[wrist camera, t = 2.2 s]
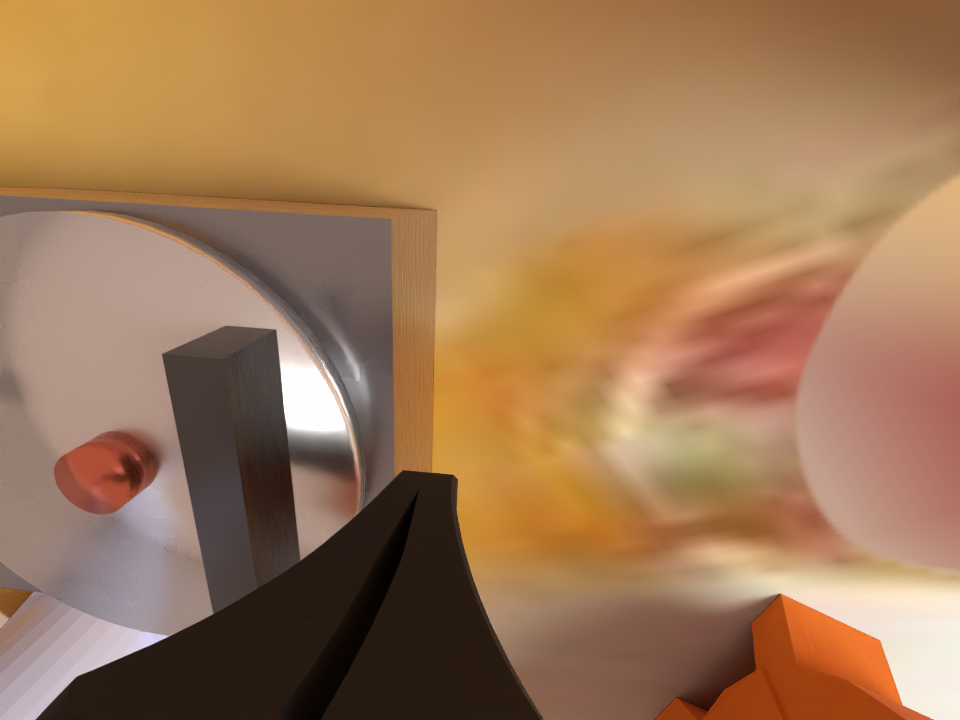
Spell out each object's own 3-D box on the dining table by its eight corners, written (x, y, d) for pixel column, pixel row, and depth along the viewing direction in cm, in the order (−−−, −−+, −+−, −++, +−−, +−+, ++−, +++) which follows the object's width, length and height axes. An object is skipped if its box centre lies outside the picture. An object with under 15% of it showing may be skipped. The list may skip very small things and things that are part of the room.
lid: (5, 592, 15) (-101, 674, 13) (-152, 195, 11) (-362, 195, 8) (372, 635, 15) (340, 732, 12) (356, 227, 10) (300, 237, 8)
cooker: (-119, 458, 22) (-457, 598, 15) (-252, 169, 18) (-842, 150, 10) (430, 514, 21) (376, 705, 13) (436, 210, 16) (359, 224, 8)
